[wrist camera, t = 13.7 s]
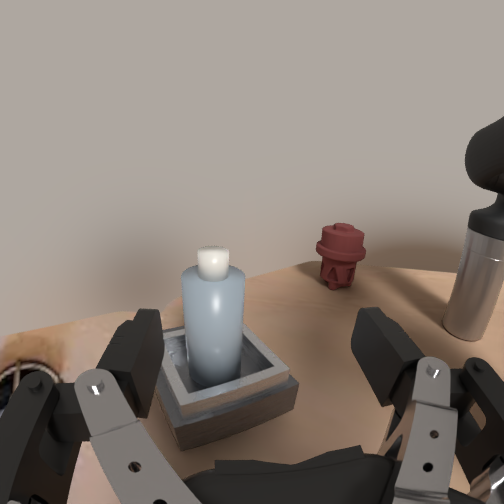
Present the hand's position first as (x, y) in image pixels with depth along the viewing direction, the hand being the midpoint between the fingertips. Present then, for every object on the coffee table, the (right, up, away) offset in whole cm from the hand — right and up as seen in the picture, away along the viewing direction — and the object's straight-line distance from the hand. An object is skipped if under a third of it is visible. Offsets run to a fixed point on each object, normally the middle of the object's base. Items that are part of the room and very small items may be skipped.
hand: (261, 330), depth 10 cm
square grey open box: (-5, -12, +17) cm, 21 cm away
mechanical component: (+17, -4, +44) cm, 48 cm away
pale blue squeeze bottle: (-4, -8, +14) cm, 17 cm away
